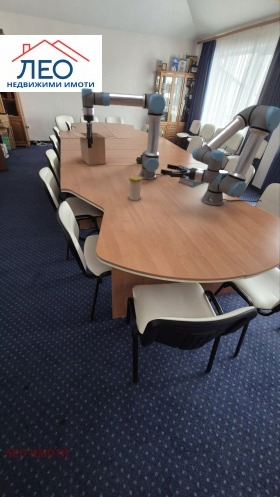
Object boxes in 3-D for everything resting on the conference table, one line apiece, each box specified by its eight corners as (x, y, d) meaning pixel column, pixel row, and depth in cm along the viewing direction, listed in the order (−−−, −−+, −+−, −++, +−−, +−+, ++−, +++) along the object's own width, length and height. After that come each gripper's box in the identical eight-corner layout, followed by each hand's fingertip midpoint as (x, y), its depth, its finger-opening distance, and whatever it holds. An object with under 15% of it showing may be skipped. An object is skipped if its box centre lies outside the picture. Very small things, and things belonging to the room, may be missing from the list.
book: (192, 177, 214) (193, 171, 211) (207, 182, 205) (208, 176, 202) (178, 181, 200) (179, 176, 197) (193, 187, 192) (194, 181, 189)
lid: (127, 181, 155) (127, 178, 154) (130, 177, 163) (131, 174, 161) (139, 183, 154) (139, 180, 153) (142, 179, 161) (142, 176, 160)
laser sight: (155, 166, 235) (156, 156, 229) (135, 163, 238) (135, 154, 232) (156, 163, 243) (157, 154, 237) (137, 161, 246) (137, 151, 240)
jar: (127, 199, 164) (128, 179, 155) (130, 195, 170) (131, 175, 161) (138, 201, 162) (139, 180, 153) (141, 196, 169) (142, 177, 160)
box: (116, 165, 229) (116, 136, 213) (83, 168, 214) (80, 137, 198) (102, 154, 259) (101, 128, 243) (71, 156, 244) (68, 129, 228)
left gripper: (84, 112, 170) (87, 142, 182) (81, 116, 150) (84, 149, 163) (94, 112, 171) (96, 142, 183) (92, 116, 151) (94, 149, 163)
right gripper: (190, 186, 133) (157, 179, 139) (198, 175, 151) (169, 169, 157) (193, 174, 128) (158, 167, 134) (201, 163, 147) (170, 158, 153)
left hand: (90, 146), depth 173 cm, fingers open, 13 cm apart
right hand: (164, 168), depth 146 cm, fingers open, 13 cm apart
